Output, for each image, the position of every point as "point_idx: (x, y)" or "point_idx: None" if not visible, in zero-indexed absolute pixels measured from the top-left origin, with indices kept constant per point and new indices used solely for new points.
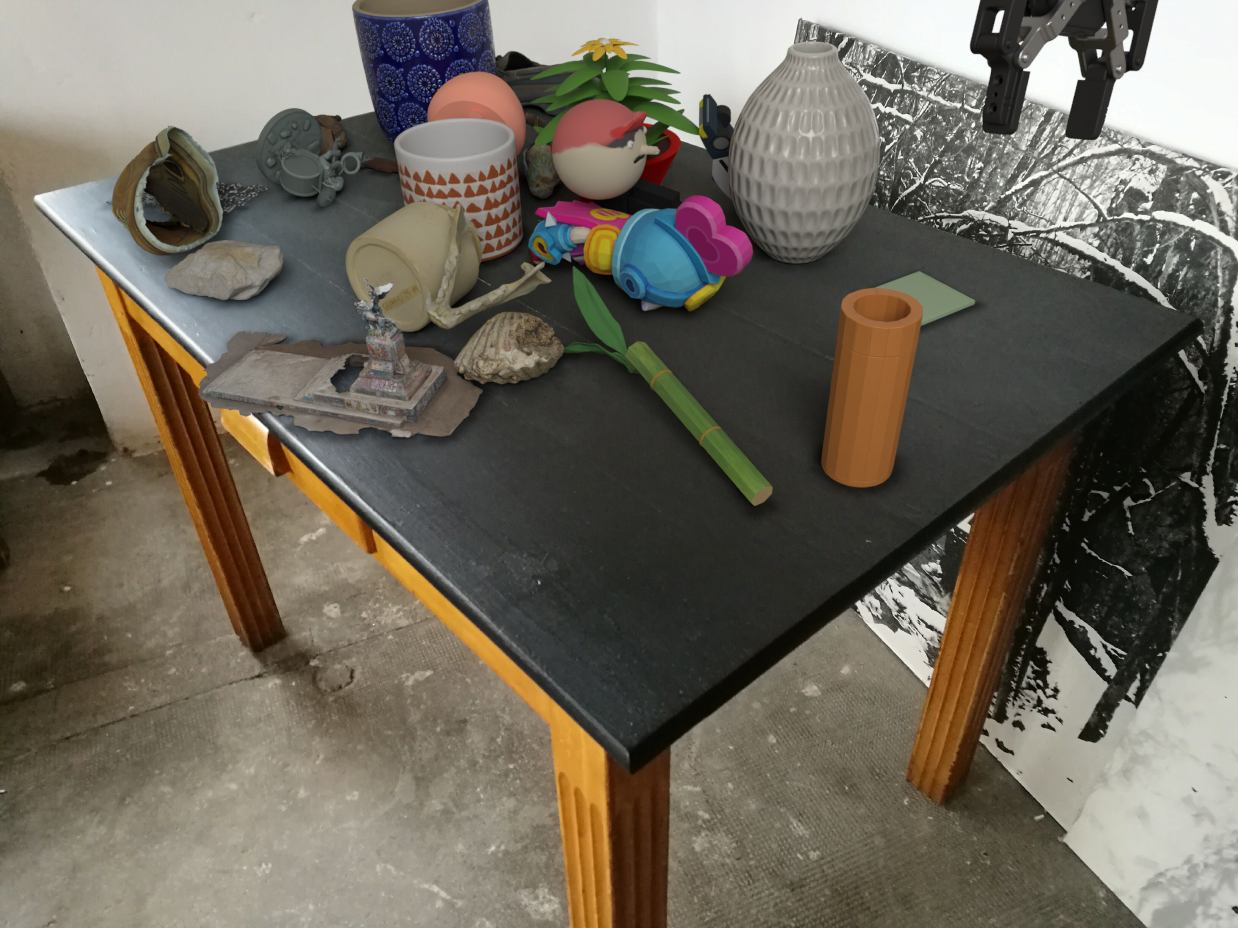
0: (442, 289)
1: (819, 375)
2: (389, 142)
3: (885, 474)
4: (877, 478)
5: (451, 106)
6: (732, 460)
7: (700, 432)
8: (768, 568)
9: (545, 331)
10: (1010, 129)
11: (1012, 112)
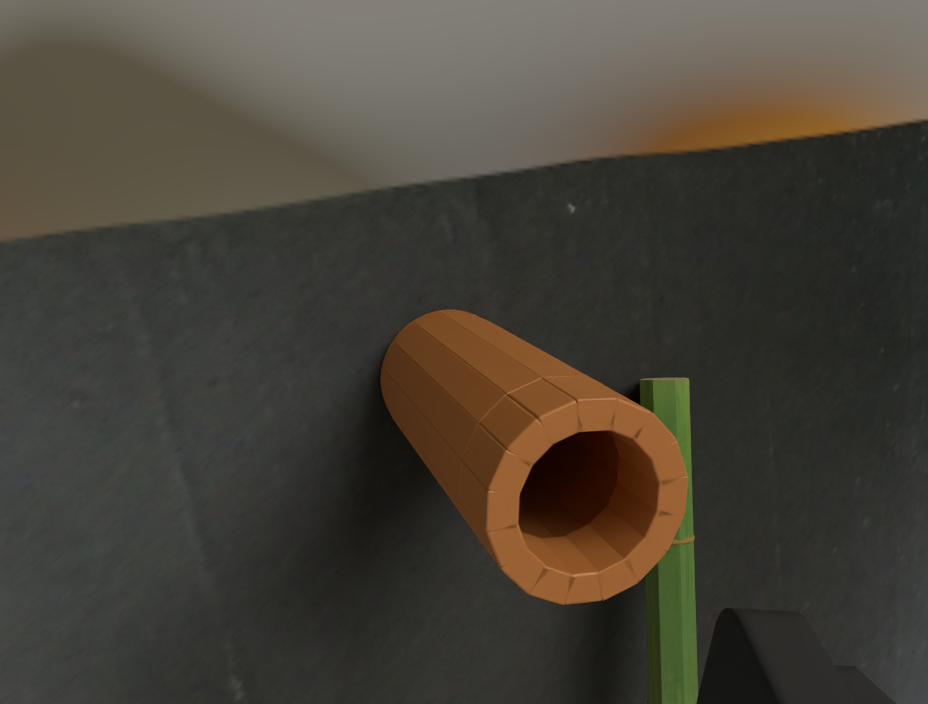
0: None
1: (301, 645)
2: None
3: (446, 312)
4: (465, 312)
5: None
6: (685, 460)
7: (693, 546)
8: (731, 252)
9: None
10: (795, 617)
11: (849, 697)
